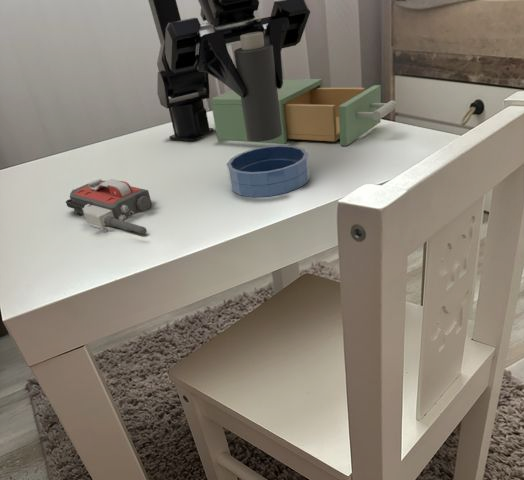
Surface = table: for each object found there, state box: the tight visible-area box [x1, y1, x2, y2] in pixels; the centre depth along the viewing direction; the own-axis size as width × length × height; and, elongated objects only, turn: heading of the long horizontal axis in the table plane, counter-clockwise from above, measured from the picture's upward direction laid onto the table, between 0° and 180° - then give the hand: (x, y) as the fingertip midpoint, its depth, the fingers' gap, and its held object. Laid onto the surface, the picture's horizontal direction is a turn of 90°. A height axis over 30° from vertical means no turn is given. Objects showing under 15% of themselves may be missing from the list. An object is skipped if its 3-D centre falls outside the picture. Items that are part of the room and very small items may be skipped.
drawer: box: [283, 84, 397, 147], centre depth 87 cm, size 18×12×6 cm
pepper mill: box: [233, 32, 282, 143], centre depth 68 cm, size 5×5×12 cm
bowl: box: [226, 144, 311, 198], centre depth 74 cm, size 11×11×4 cm
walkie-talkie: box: [65, 178, 153, 234], centre depth 72 cm, size 9×4×20 cm
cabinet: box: [209, 78, 324, 145], centre depth 94 cm, size 15×14×8 cm
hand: (262, 91), depth 67 cm, fingers closed on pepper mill, 5 cm apart
